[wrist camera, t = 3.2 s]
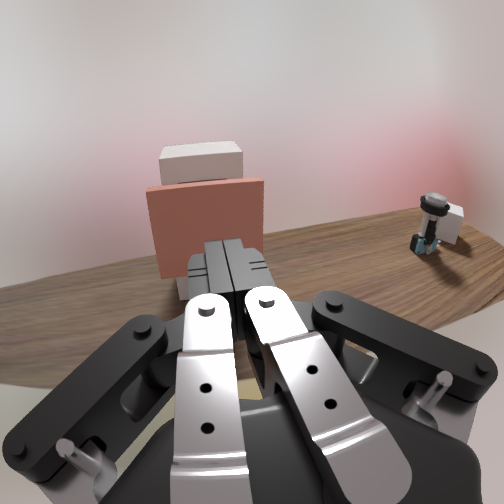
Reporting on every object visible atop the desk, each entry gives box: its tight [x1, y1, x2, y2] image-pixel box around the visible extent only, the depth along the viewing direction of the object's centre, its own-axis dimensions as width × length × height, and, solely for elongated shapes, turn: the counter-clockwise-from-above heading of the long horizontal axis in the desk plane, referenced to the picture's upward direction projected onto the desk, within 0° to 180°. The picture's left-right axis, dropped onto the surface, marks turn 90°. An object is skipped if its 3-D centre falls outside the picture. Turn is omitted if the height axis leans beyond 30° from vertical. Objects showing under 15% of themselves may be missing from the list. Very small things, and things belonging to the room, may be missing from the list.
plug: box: [146, 177, 264, 279], centre depth 27 cm, size 8×9×8 cm
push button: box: [410, 192, 450, 254], centre depth 42 cm, size 7×5×10 cm
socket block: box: [159, 140, 243, 300], centre depth 34 cm, size 7×8×17 cm
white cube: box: [436, 202, 463, 245], centre depth 48 cm, size 6×6×6 cm
